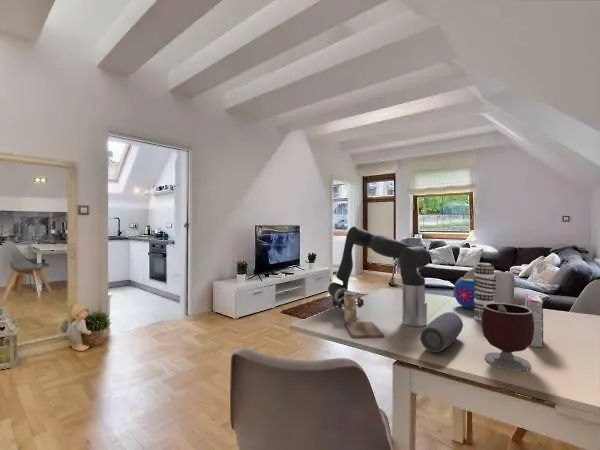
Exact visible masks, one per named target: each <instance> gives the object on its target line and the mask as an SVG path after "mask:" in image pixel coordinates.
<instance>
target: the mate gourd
mask: <svg viewBox="0 0 600 450" xmlns="http://www.w3.org/2000/svg"><path fill="white" fill-rule="evenodd" d="M481 328H482V334H483V337H484V338H485V340H486V341H487V342H488V344H489V345H491V346H492V347H495V348H496V349H499V350H501V351H500V352H499V351H498V352H496V351H495V352H487V353H486V354H484V361H485V360H486V361H487V362H486V361H485V362H486V363H488V364H489V363H490V365H491V364H492V365H491V366H493V365H494V366H493V367H495V366H496V368H498V367H500V368H499V369H501V368H503V369H502V370H505V369H509V370H508V371H511V370H527V369H529V368H530V367H531V366H532V365H531V363H530V361H529V360H527V359H525V358H523V357H522V356H521V357H520V356H518V355H515V354H513V353H515V352H516V353H517V352H522V351H525V350H527V349H528V347H531V346H530V345H531V343H532V340H533V336H534V320H533V315H532V310H530V309H528V308H526V307H525V306H522V305H517V304H512V303H505V302H504V303H501V302H494V303H488V304H485V305H484V308H483V313H482V320H481ZM531 368H532V367H531ZM531 368H530V369H531ZM530 369H529V370H530ZM527 371H528V370H527Z"/></svg>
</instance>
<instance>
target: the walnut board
mask: <svg viewBox="0 0 600 450" xmlns="http://www.w3.org/2000/svg"><path fill="white" fill-rule="evenodd" d="M343 325H344V326H345V328H346V329H347V332H348V333H349V334H350V336H351V337H352V338H351V339H355V338H356V339H357V338H358V339H359V338H361V339H362V338H365V339H366V338H384V333H383V332H382V331H381V330H380V329H379V328H378V327H377V325H376V324H375V323H374V322H373V321H345V322H344V324H343Z"/></svg>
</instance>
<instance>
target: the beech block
mask: <svg viewBox="0 0 600 450" xmlns="http://www.w3.org/2000/svg"><path fill="white" fill-rule="evenodd" d="M356 299H357V293H355V292H354V291H349V292H344V307H343V319H344V320H345V322H357V306H356Z"/></svg>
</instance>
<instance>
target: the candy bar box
mask: <svg viewBox="0 0 600 450" xmlns="http://www.w3.org/2000/svg"><path fill="white" fill-rule="evenodd" d="M524 301H525V303H524V307H526V308H528V309H530V310H532V315H533V320H534V336H533V340H532V343H531V345H530V346H529V347H532V346H536V347H535V348H539V347H542V348H541V349H544V301H543V298H542V297H541V295H537V294H525V296H524Z"/></svg>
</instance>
